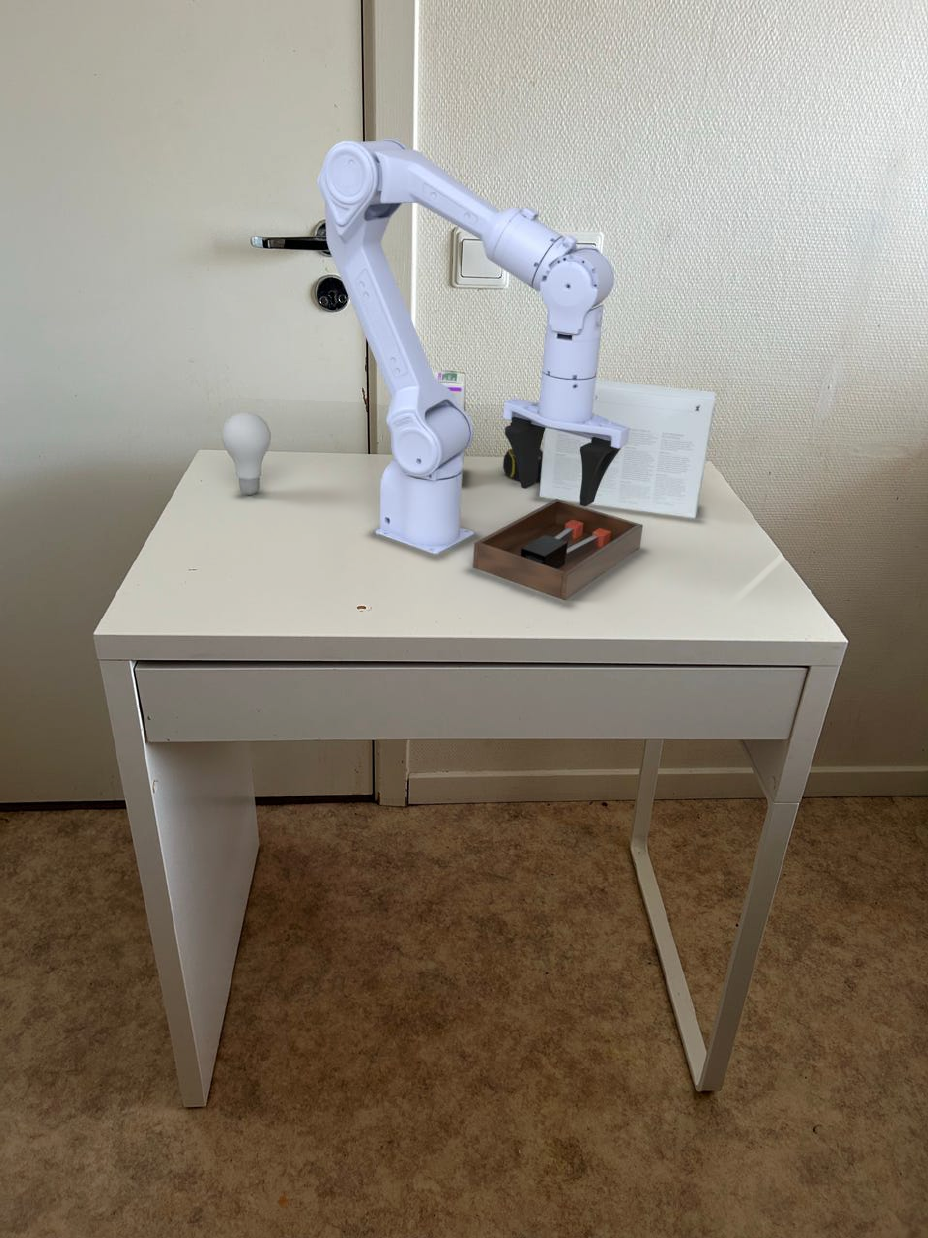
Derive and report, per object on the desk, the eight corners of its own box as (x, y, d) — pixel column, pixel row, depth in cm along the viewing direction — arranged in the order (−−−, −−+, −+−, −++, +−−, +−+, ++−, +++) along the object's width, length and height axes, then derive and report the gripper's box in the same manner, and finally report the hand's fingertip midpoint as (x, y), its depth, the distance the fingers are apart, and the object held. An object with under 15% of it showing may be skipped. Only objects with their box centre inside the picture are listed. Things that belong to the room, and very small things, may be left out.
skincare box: (697, 506, 129) (717, 390, 122) (695, 521, 125) (717, 401, 117) (544, 485, 133) (554, 372, 126) (537, 499, 129) (547, 382, 121)
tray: (472, 570, 109) (474, 542, 107) (553, 524, 122) (555, 498, 120) (564, 604, 103) (567, 575, 101) (639, 551, 116) (643, 524, 114)
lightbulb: (283, 493, 126) (279, 412, 121) (251, 507, 122) (245, 423, 116) (249, 482, 129) (244, 402, 124) (216, 495, 125) (209, 413, 119)
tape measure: (557, 485, 134) (560, 459, 132) (512, 488, 132) (514, 462, 130) (539, 468, 139) (542, 443, 137) (495, 471, 137) (497, 446, 135)
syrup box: (462, 486, 131) (467, 382, 124) (419, 484, 131) (422, 380, 124) (463, 472, 136) (468, 370, 129) (421, 470, 136) (424, 368, 129)
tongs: (609, 543, 116) (612, 522, 115) (544, 586, 105) (547, 563, 104) (571, 531, 119) (573, 510, 117) (504, 571, 108) (506, 549, 107)
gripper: (648, 379, 99) (631, 500, 106) (531, 353, 106) (522, 469, 113) (617, 392, 94) (601, 519, 101) (495, 365, 101) (488, 485, 108)
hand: (557, 494), depth 106 cm, fingers open, 7 cm apart
